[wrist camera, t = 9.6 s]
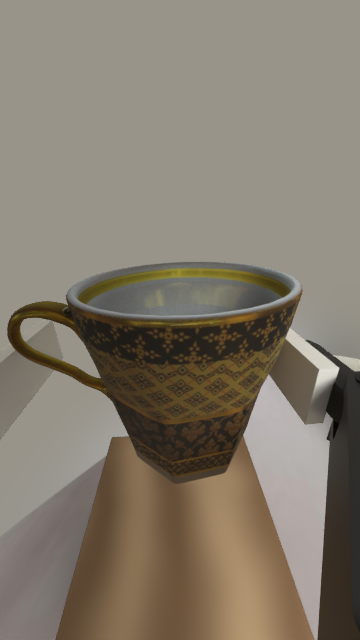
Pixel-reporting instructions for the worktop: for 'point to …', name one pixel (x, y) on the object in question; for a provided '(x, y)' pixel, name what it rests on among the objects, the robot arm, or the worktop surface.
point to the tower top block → (181, 559)
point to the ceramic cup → (176, 353)
